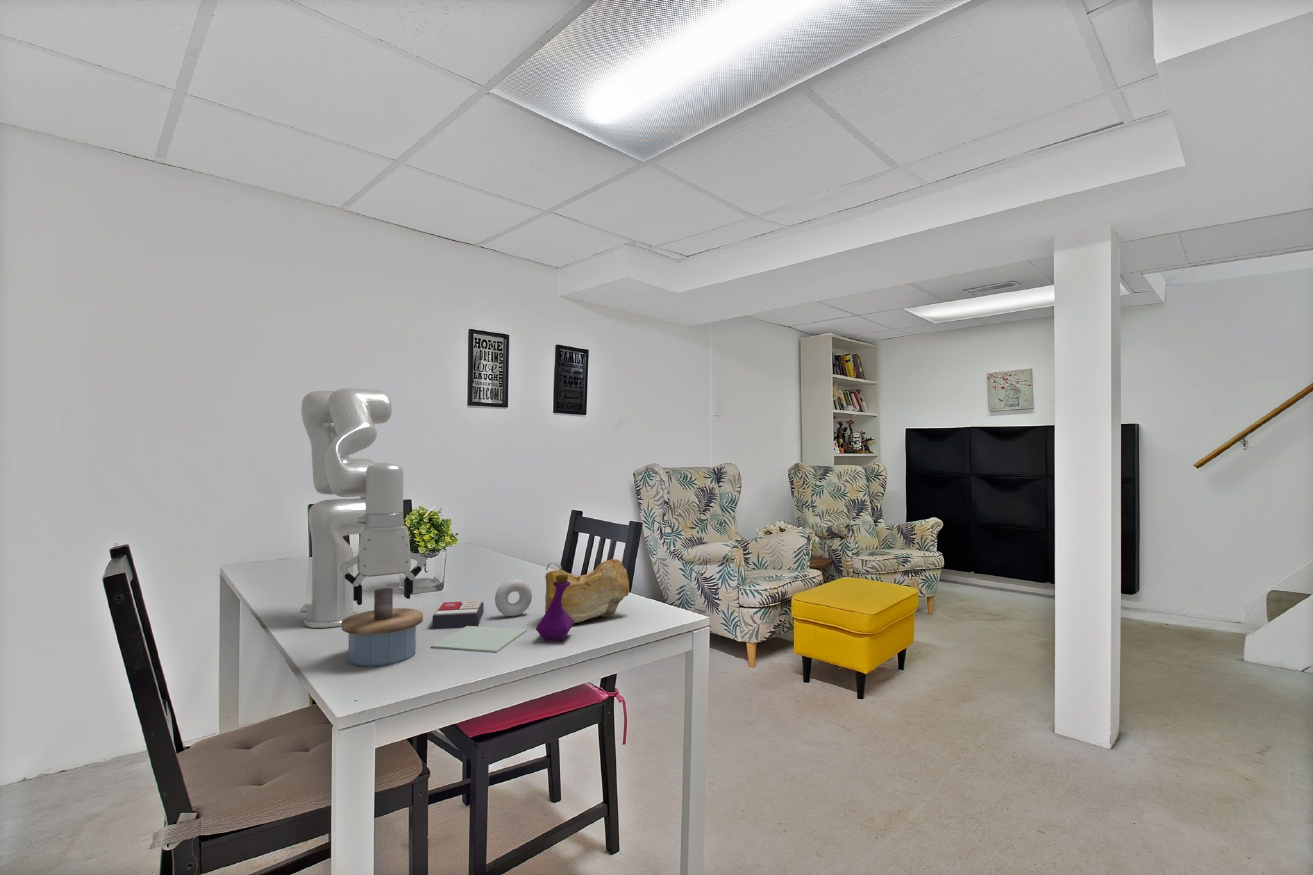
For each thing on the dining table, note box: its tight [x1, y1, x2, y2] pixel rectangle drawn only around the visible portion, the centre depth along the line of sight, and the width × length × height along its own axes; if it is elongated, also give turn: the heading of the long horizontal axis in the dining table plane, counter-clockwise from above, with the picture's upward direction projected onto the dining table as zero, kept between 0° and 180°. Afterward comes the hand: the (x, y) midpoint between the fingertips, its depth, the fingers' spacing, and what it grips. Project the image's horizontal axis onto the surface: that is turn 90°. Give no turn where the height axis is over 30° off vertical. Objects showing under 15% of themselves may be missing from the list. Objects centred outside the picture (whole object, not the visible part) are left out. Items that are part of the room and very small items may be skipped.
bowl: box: [347, 626, 417, 668], centre depth 130 cm, size 13×13×7 cm
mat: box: [430, 626, 528, 653], centre depth 142 cm, size 16×16×1 cm
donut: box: [494, 578, 533, 617], centre depth 162 cm, size 10×3×10 cm, turn 119°
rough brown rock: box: [544, 558, 630, 624], centre depth 162 cm, size 23×17×15 cm
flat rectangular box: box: [431, 600, 485, 630], centre depth 158 cm, size 11×4×15 cm
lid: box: [341, 587, 424, 635], centre depth 130 cm, size 16×16×7 cm
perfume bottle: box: [535, 561, 575, 642], centre depth 143 cm, size 8×8×18 cm
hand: (383, 600), depth 130 cm, fingers open, 9 cm apart
